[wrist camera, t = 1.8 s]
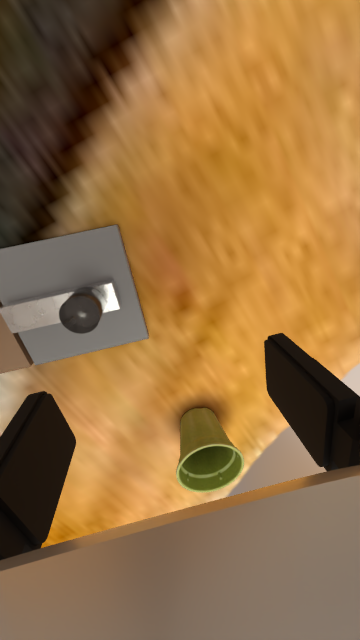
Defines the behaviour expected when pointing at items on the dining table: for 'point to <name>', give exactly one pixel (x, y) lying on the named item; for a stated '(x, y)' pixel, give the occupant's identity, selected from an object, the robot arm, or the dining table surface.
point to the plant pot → (206, 453)
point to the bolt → (63, 308)
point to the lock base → (61, 274)
